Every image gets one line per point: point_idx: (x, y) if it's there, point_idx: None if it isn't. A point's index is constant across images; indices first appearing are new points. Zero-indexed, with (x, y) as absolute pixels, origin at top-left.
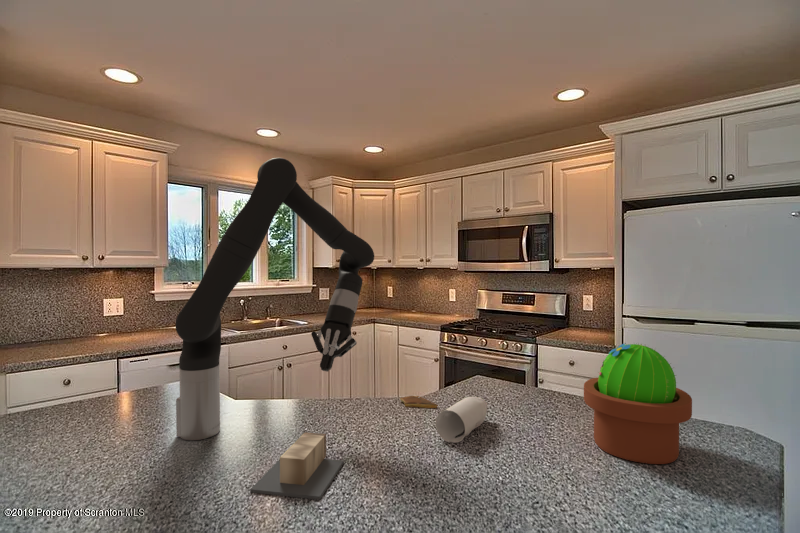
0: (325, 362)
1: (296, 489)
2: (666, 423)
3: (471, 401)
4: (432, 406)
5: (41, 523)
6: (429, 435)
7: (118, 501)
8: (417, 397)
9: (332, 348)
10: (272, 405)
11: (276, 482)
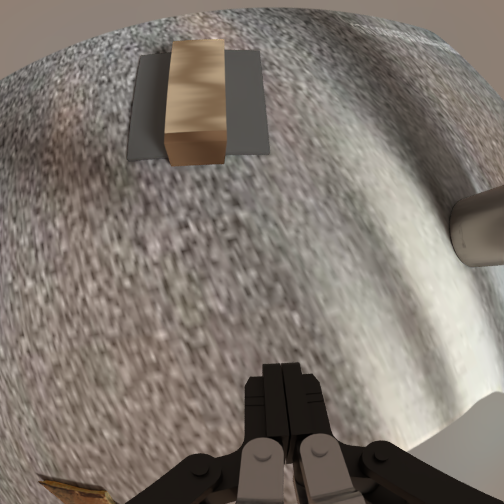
0: (283, 392)
1: None
2: None
3: None
4: (50, 482)
5: (416, 28)
6: (2, 336)
7: (397, 46)
8: None
9: (265, 492)
10: (427, 410)
11: (227, 68)
